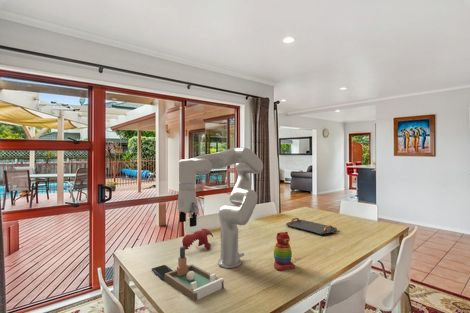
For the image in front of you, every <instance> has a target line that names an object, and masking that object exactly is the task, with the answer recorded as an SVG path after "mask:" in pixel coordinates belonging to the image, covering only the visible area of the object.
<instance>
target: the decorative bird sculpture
mask: <svg viewBox="0 0 470 313" xmlns="http://www.w3.org/2000/svg"><path fill="white" fill-rule="evenodd" d="M208 236H211V237H212V238H214V235H213V233H212V231H211V230H209V229H207V228H201V230H198V231H194V232H193V233H192V234H186V235H184V237H183V238H182V240H181V241H182V242H181V244H182V246H185V251H186V250H189V248H190V247H191V246H193V243H195V242H196V241H198V244H197V245H196V246H195V248H196V249H198V247H201V246H203V245H204V246H203V248H205V249H206V250H207V251H210V249H211V247H212V244H211V243H210V242H209V239H208Z"/></svg>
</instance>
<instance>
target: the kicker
mask: <svg viewBox="0 0 470 313" xmlns="http://www.w3.org/2000/svg"><path fill="white" fill-rule="evenodd" d="M177 258H178V259H177V260H178V263H177V264H178V265H177V266H176V270H177V276H182V275H185V274H187V273H188V264H187V260H188V259H187V257H186V250H185V246H183V245H181V246H179V257H177Z"/></svg>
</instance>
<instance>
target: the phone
mask: <svg viewBox="0 0 470 313" xmlns="http://www.w3.org/2000/svg"><path fill="white" fill-rule="evenodd" d="M151 270H152V271H153V272H154V273H153V272H152V271H151V272H152V273H153V274H154V275H156V276H157V277H158V278H159V279H160V280H161V279H162V280H161V281H163V282H164V281H165V279H164V274H165V273H168V272H171V271H174V270H173V269H171V267H169V266H168V265H166V264H163V265H158V266H155V267H152V268H151ZM165 282H166V281H165Z"/></svg>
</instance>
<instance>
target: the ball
mask: <svg viewBox="0 0 470 313" xmlns="http://www.w3.org/2000/svg"><path fill="white" fill-rule="evenodd" d="M186 277H187V279H188V280H190V281H191V280H193V279H194V278H195V273H194V272H193V271H189V272H188V273H187V275H186Z"/></svg>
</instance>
